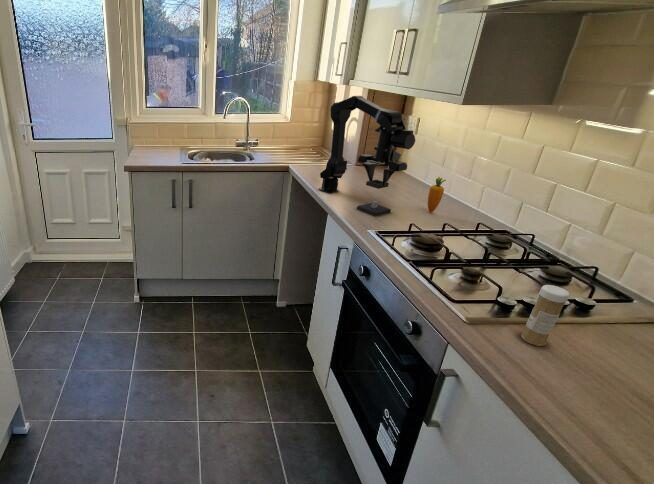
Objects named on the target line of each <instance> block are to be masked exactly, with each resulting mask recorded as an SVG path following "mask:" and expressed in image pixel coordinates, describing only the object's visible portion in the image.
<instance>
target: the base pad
mask: <svg viewBox="0 0 654 484" xmlns="http://www.w3.org/2000/svg"><path fill="white" fill-rule="evenodd" d="M379 203H380V202H379V201H377V200H372V201H371V202H368V203H364V204H359V205H357V206H356V210H357V211H360V212H363V213H366V214H368V215H371V216H373V217H378V216H382V215H385V214H390V213H391V211H392V208H388V207H386V206H383V205H380V204H379Z"/></svg>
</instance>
